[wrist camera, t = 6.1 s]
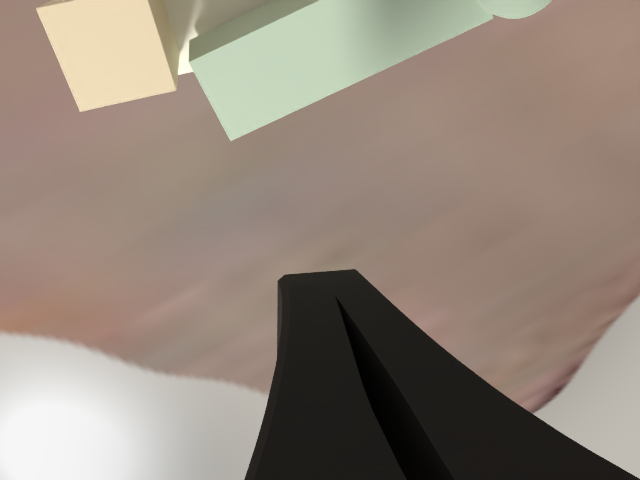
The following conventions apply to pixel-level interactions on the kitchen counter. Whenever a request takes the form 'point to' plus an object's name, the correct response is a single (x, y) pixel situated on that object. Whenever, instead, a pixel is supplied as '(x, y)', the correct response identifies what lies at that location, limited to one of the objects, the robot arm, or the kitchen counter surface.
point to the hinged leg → (322, 49)
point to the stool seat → (129, 43)
